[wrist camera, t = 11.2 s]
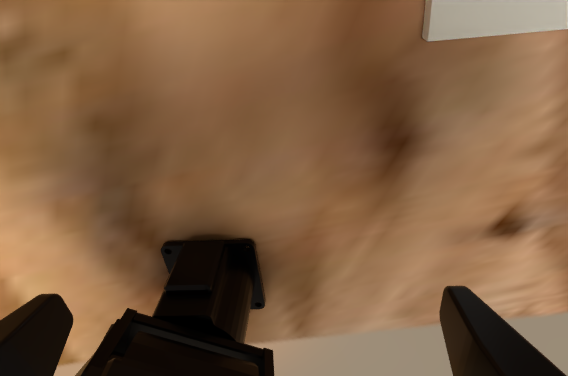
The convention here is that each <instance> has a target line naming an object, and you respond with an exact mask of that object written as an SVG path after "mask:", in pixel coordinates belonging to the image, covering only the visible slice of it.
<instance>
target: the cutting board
mask: <svg viewBox="0 0 568 376" xmlns="http://www.w3.org/2000/svg"><path fill="white" fill-rule="evenodd" d="M563 29H568V0H426V2H425V12H424V23H423V33H422V38H423V39H425V40H426V41H428V42H429V41H440V40H452V39H463V38H474V37H485V36H496V35H507V34H518V33H529V32H541V31H552V30H563Z"/></svg>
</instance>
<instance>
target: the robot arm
mask: <svg viewBox="0 0 568 376" xmlns="http://www.w3.org/2000/svg"><path fill="white" fill-rule="evenodd" d="M245 246H249V247H250V248H246V247H245ZM168 249H170V250H168ZM161 253H162V255H163V258H164V261H165V264H166V266H167V269H168V272H169V274H170V275H169V277H168V279H167V282H166V284H165V286H164V291H163V293H162V296H161V298H160V300H159V302H158V304H157V307H156V309H155V311H154V313H153V316H152V317H151V316H147V315H144V314H140V313H137V311H136V310H133V309H129V308H127V310H126V311H125V313H124V314H123V316H122V318H121V319H117V321H116V322H115V324H112V325H111V326H110V328H109V330H108V332H107V333H106V335H105V337H104V339H103V341H102V342H101V344H100V346H99V347H98V349H97V350H96V352H95V353H94V354H93V356H92V357H91V358H90V359H89V360H88V361H87V362H86V364H85V365H84V366H83V367H82V368H81V369H80V371H79V372H78V373H77V374H76V375H75V376H274V364H273V350H270V349H267V348H263V349H261V348H257V347H254V346H251V345H247V344H244V341H245V335H246V330H247V324H248V318H249V313H250V309H262V308H264V306H265V295H264V290H263V284H262V279H261V274H260V268H259V263H258V257H257V252H256V246H255V243H254V242H253V241H252V240H249V239H240V240H212V241H183V242H166V243H164V244H163V246H162V248H161ZM258 302H259V303H258ZM440 322H441V327H442V331H443V335H444V339H445V343H446V348H447V352H448V356H449V360H450V364H451V368H452V372H453V376H566V375H565V374H564V373H563V372H562V371H561V370H559V369H558V368H557V367H556V366H555V365H554V364H553V363H552V362H551V361H550V360H548V359H547V358H546V357H545V356H544V355H543V354H542V353H541V352H539V351H538V350H537V349H536V348H535V347H534V346H532V345H531V344H530V343H529V342H528V341H527V340H526V339H525V338H524V337H523V336H521V335H520V334H519V333H518V332H517V331H516V330H515V329H514V328H512V327H511V326H510V325H509V324H508V323H507V322H506V321H505V320H503V319H502V318H501V317H500V316H499V315H498V314H497V313H496V312H494V311H493V310H492V309H491V308H490V307H489V306H488V305H487V304H485V303H484V302H483V301H482V300H481V299H480V298H479V297H478V296H476V295H475V294H474V293H473V292H472V291H471V290H470V289H469V288H467V287H465V286H447V287H445V289H444V291H443V296H442V301H441V306H440ZM72 325H73V315H72V313H71V312H70V310H69V309H68V307H67V305H66V304H65V302H64V300H63V299H62V297H61V296H60V295H58V294H41V295H38V296H36V297H35V298H33V299H32V300H30V301H29V302H27V303H26V304H24V305H23V306H21V307H20V308H18V309H17V310H15V311H14V312H12V313H11V314H9V315H8V316H6V317H5V318H3V319H2V320H0V376H53V375H54V373H55V370H56V367H57V365H58V362H59V359H60V357H61V354H62V352H63V349H64V346H65V344H66V341H67V338H68V336H69V333H70V331H71V328H72Z"/></svg>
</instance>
